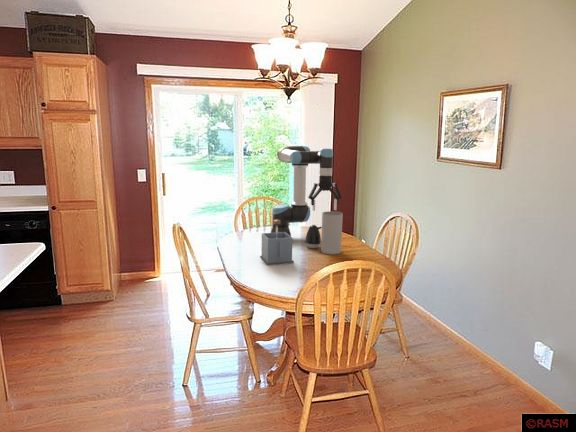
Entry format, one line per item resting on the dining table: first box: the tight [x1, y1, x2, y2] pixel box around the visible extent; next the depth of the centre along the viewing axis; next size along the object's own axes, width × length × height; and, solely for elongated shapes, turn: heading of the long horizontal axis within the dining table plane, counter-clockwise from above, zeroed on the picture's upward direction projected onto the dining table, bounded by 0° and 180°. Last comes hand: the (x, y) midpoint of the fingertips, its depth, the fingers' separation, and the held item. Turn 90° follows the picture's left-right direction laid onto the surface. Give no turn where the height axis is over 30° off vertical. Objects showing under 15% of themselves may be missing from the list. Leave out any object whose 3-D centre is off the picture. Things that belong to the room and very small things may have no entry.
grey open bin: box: [259, 232, 294, 266], centre depth 240 cm, size 18×16×15 cm
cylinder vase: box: [320, 210, 343, 256], centre depth 257 cm, size 12×12×25 cm
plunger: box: [272, 219, 280, 238], centre depth 238 cm, size 12×12×13 cm
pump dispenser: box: [305, 224, 322, 249], centre depth 268 cm, size 10×10×15 cm
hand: (324, 210), depth 248 cm, fingers open, 13 cm apart
